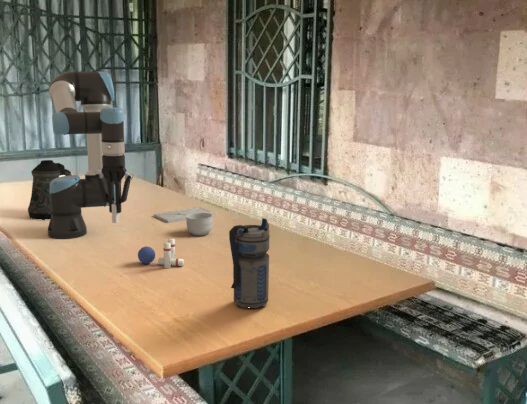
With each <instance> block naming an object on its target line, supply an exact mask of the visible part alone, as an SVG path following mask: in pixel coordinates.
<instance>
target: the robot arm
mask: <svg viewBox="0 0 527 404" xmlns="http://www.w3.org/2000/svg"><path fill="white" fill-rule="evenodd" d="M113 83H114V82H113V80H112V77H111V75H110V74H109V72H106V71H98V70H95V71H72V70H71V71H66V72H63V73H60V74H58V75H57V76H55V77H54V78H53V79H52V80H51V82H50V83H49V85H48V86H49V87H48V95H49V98H50V99H51V101H52V102H53V104H54V109H55V112H53V113H52V115H51V122H52V124H51V125H52V132H53V134H55V135H63V136H68V135H86V149H87V162H88V164H87V166H88V170H87V171H86V172H85V174H84V178H81V177H80V176H79V175H76V174H73V175H72V174H71V175H69V176H65V175H62V176H59V177H58V178H56V179H53V180H52V181H51V182H50V191H49V193H50V200H51V219H50V220H49V224H48V226H47V236H48V237H49V238H52V239H74V238H79V237H83V236H84V235H87V233H88V229H87V225H86V222H85V220H84V217H83V215H82V208H86V209H87V208H97V207H99V208H100V207H104V208H106V207H108V209H109V210H108V212H109V213H110V214H111V221H112V223H113V224H117V223H119V222H120V213H122V204H123V203H125V202H127V201H128V196H129V190H130V185H131V181H132V180H133V178H134V175H133V174H130V173H128V172H127V169H126V156H125V149H126V148H125V131H124V130H125V121H124V120H125V117H124V110H123V108H121V107H111V102H114V101H115V89H114V84H113ZM77 102H80V106H81V108H82V109H84V111H79V109H78V105H77ZM123 179H125V180H124V182H123V187H122V180H123Z"/></svg>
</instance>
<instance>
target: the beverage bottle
mask: <svg viewBox="0 0 527 404" xmlns="http://www.w3.org/2000/svg"><path fill="white" fill-rule="evenodd" d="M228 232H229V234H228V235H229V236H228V238H229V244H230V245H229V246H230V252H231V253H230V254H231V258H232V265H233V266H232V268H233V269H232V270H233V273H232V275H233V283H232V285H231V287H230V288H231V289H233V302H234V304H235V305H236V306H237V307H239V306H240V308H243V309H247V308H248V307H250V308H255V309H259V308H258V307H260V308H263V307H264V305H265V306H266V305H267V303H268V302H269V292H270V291H269V289H270V288H269V287H270V285H269V283H270V281H269V280H270V275H269V274H270V255H269V253H268V251H269V250H270V240H271V239H270V238H271V237H270V236H271V234H270V224H269V222H268V219H267V218H264V217H262V218H261V225H259V224H244V225H243V224H238V225H237V224H236V225H234V226H233V227H232V228H231V229H230V230H229V231H228ZM262 306H263V307H262Z"/></svg>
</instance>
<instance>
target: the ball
mask: <svg viewBox="0 0 527 404" xmlns="http://www.w3.org/2000/svg"><path fill="white" fill-rule="evenodd" d="M137 258H138V260H139V261H140V262H141V263H142V264H145V265H146V264H151V263H153V262H154V260H155V259H156V252H155V250H154V249H153V248H152V247H150V246H143V247H141V248H140V249H139V250H138V253H137Z"/></svg>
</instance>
